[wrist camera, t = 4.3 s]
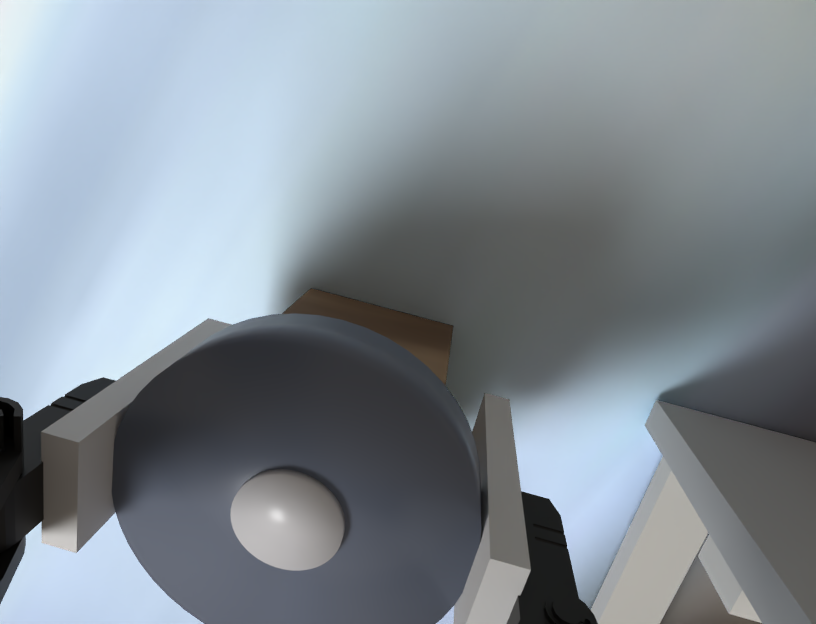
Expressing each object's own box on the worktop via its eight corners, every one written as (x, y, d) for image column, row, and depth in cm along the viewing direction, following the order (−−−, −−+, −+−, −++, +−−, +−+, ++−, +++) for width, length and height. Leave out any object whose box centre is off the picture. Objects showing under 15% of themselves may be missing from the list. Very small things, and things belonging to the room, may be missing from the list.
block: (311, 288, 18) (233, 355, 12) (453, 325, 18) (442, 412, 12) (288, 413, 20) (211, 523, 14) (418, 449, 19) (394, 576, 14)
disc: (165, 272, 11) (111, 296, 10) (525, 369, 11) (534, 410, 9) (143, 552, 14) (97, 610, 12) (432, 636, 14) (426, 707, 12)
